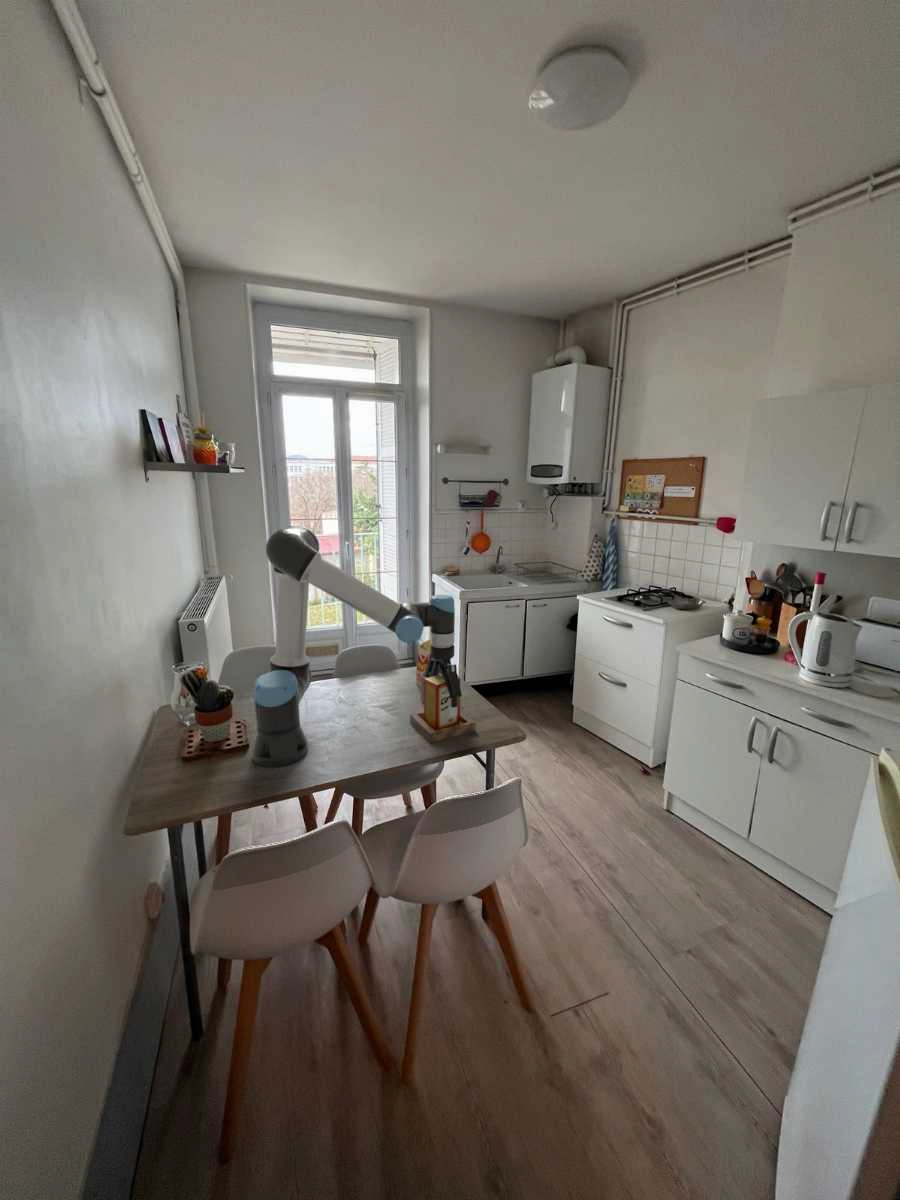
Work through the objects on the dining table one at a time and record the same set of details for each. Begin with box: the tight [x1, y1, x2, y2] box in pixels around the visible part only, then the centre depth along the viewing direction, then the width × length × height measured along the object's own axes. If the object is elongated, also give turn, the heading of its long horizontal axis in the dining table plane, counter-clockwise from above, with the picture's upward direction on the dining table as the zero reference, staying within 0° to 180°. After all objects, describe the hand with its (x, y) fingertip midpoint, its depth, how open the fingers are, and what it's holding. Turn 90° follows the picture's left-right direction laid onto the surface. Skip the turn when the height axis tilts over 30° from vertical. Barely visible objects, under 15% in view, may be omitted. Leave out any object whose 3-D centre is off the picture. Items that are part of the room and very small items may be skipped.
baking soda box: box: [423, 674, 461, 731], centre depth 155 cm, size 10×6×16 cm
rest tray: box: [409, 710, 476, 744], centre depth 157 cm, size 16×15×3 cm
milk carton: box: [415, 638, 432, 688], centre depth 189 cm, size 9×9×20 cm
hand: (442, 707), depth 156 cm, fingers open, 13 cm apart
